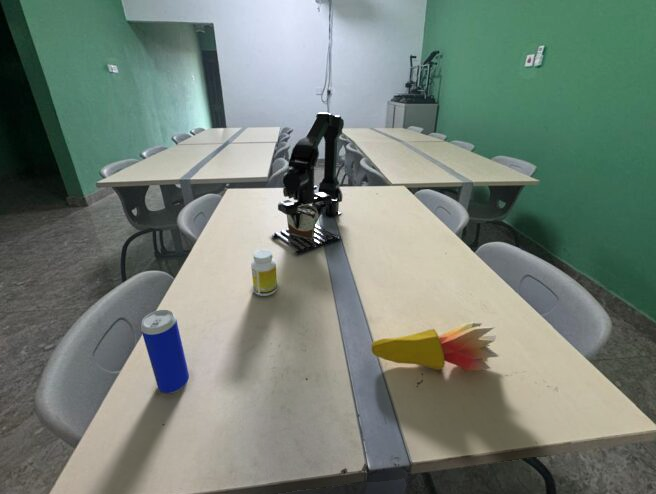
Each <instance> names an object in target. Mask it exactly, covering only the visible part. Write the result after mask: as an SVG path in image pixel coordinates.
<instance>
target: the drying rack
mask: <svg viewBox="0 0 656 494" xmlns="http://www.w3.org/2000/svg"><path fill="white" fill-rule="evenodd" d="M271 237H272V239H278V238H279V239H281V240H282V241H284V242H285V243H286V244H288V245H289V246H290V247H292V248H294V249H295V250H296V251H295V255H297V256H300V255H302V254H305V253H307V252H311V251H313V250H316V249H319V248H323V247H324V246H328V245H330V244H332V243H335V242H338V241H340V240H341V237H340V236H337V235H336V234H335V233H332V232H331V231H329V230H326V229H325V228H323V227H321V226H320V225H317V224H316V225H315V233H314V238H313V239H312V240H311V239H307V238H303V237H300V236H296V235H292V234H289V231H288V228H286V230H284V229H282V230H280V231H279V232H278V231H275V232H274V233H273V234H272V235H271Z"/></svg>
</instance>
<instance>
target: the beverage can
mask: <svg viewBox="0 0 656 494" xmlns="http://www.w3.org/2000/svg"><path fill="white" fill-rule="evenodd" d="M140 330H141V334H142V338H143V341H144V345H145V348H146V351H147V354H148V359H149V362H150V365H151V369H152V372H153V375H154V379H155V382H156V386H157V389H158V391H159V392H161V393H163V394H174V393H177V392H179V391H180V390H182V389H183V388H184V387H185V386H186V385H187V383H188V381H189V379H190V373H189V369H188V365H187V359H186V355H185V350H184V347H183V342H182V338H181V333H180V329H179V324H178V321H177V317H176V315H175V314H174V312H173V311H172V310H169V309H157V310H154V311H152V312H150V313H148V314H147V315H145V316H144V317H143V319H142V320H141V325H140Z"/></svg>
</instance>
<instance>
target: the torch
mask: <svg viewBox="0 0 656 494" xmlns="http://www.w3.org/2000/svg"><path fill="white" fill-rule="evenodd" d="M481 325H483V322H481V323H480V322H479V323H478V322H477V323H476V321H470V322H465V323H463V324H461V325H458V326H457V327H455V328H453V329H451V330H449V331H448V332H445V333H443V334H441V335H438V332H437V331H436V329H435V328H431V329H427V330H425V331H424V330H423V331H421V332H417V333H413V334H408V335H403V336H398V337H393V338H391V337H390V338H389V337H388V338H381V339H378V340H374V341H373V342H371V346H370V348H371V352H372V354H373V355H374V356H375V357H378V358H380V359H383V360H385V361H389V362H393V363H397V364H407V365H408V364H409V365H418V366H422V367H424V366H425V367H426V368H430V369H432V370H437V371H439V370H441V369H443V368H444V367H445V364H446V362H447V363H449V364H452V365H454V366H457V367H459V368H461V369H462V370H463V371H465V372H472V371H480V370H481V371H482V370H490V369H491V368H492V367H490V365H488V364H487V363H486V362H488V358H497V357H500V356H501V355H500V354H498V353H497V352H496V351H495V350H493V349H491V348H489V347H491V345H490V344H491V343H494V342H495V341H496V337H497V335H486V334H488V333H489V332H491V331H493V329H495V328H496V327H493V326H481Z"/></svg>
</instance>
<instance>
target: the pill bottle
mask: <svg viewBox="0 0 656 494" xmlns="http://www.w3.org/2000/svg"><path fill="white" fill-rule="evenodd" d="M252 257H253V261H252V262H251V264H250V265H251V267H250V268H251V277H252V287H253V288H252V289H253V292H254V293H255V294H256V295H257V296H261V297H268V296H271V295H273V294H274V293H275V292H276V291H277V290H278V278H277V277H278V275H277V264H276V260H275V259H274V258H273V257H274V256H273V252H272V251H271V250H270V249H258V250H256V251H254V252H253V255H252Z"/></svg>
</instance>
